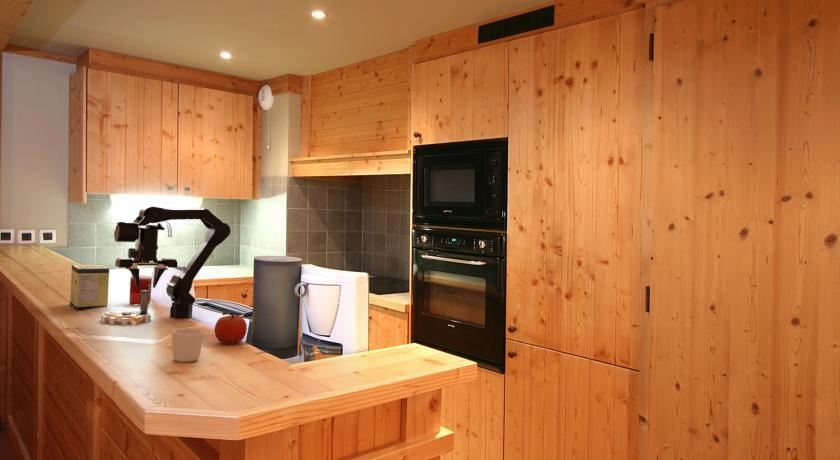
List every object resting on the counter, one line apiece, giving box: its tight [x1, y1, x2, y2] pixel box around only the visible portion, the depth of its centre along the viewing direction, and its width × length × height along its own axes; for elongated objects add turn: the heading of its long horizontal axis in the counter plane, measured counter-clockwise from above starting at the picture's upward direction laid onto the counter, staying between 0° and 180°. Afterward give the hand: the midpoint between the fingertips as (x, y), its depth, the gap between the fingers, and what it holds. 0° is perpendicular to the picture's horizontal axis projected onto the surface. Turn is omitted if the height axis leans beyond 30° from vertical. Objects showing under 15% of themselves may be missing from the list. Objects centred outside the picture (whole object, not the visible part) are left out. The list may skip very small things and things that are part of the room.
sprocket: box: [100, 290, 152, 326], centre depth 196 cm, size 15×15×10 cm
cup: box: [171, 327, 205, 363], centre depth 157 cm, size 11×8×8 cm
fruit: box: [214, 310, 248, 345], centre depth 179 cm, size 10×10×10 cm
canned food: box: [128, 275, 153, 305], centre depth 236 cm, size 8×8×11 cm
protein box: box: [69, 264, 110, 311], centre depth 221 cm, size 10×16×16 cm
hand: (145, 287), depth 200 cm, fingers open, 5 cm apart
